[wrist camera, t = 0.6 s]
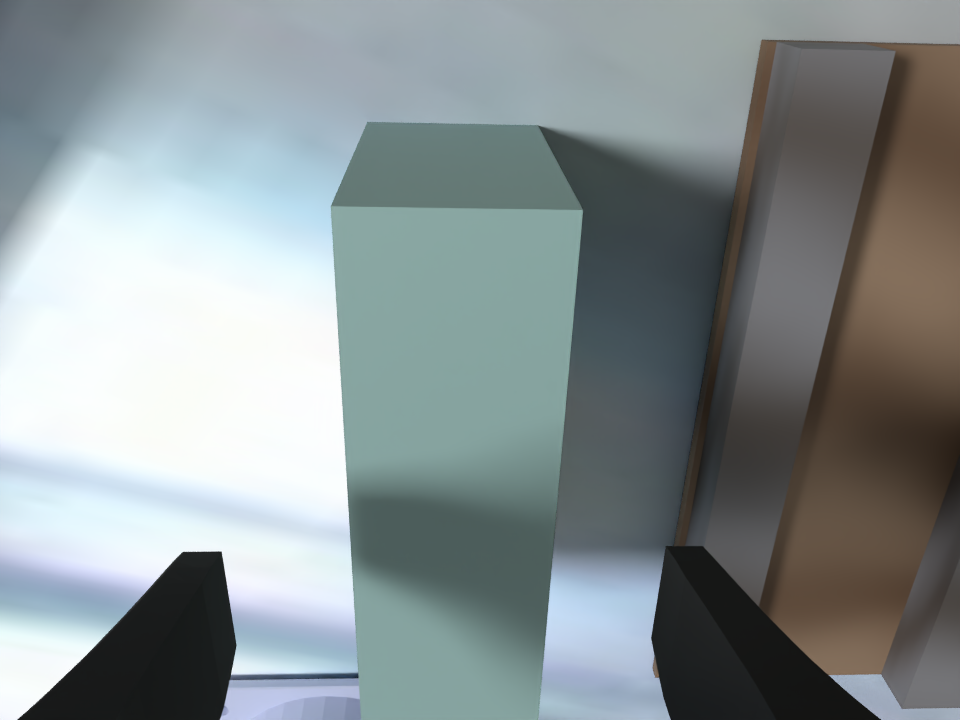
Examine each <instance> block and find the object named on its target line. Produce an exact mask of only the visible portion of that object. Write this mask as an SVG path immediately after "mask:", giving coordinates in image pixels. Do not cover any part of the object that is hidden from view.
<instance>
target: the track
mask: <svg viewBox="0 0 960 720" xmlns="http://www.w3.org/2000/svg"><path fill="white" fill-rule="evenodd" d="M674 546H703V547H704V548H705V549H706V550H707V551H708V552H709V553H710V554H711V555H712V556H713V557H714V558H715V560H716V561H717V562H718V563H719V564H720V565H721V566H722V567H723V568H724V569H725V570H726V572H727V573H728V574H729V575H730V576H731V577H732V578H733V579H734V580H735V581H736V583H737V584H738V585H739V586H740V587H741V588H742V589H743V590H744V591H745V592H746V593H747V594H748V596H749V597H750V598H751V599H752V600H753V601H754V602H755V603H756V604H757V605H758V606H759V607H760V608H761V609H762V611H763V612H764V613H765V614H766V615H767V616H768V617H769V618H770V619H771V620H772V621H773V622H774V623H775V624H776V625H777V626H778V627H779V628H780V629H781V630H782V631H783V632H784V633H785V634H786V635H787V636H788V637H789V638H790V639H791V640H792V641H793V642H794V643H795V644H796V645H797V646H798V647H799V648H800V649H801V650H802V651H803V652H804V653H805V654H806V655H807V656H808V657H809V658H810V659H811V660H812V661H813V662H814V663H816V664H817V665H818V666H819V667H820V668H821V669H822V670H823V671H824V672H825V673H827V674H828V675H856V674H881V675H882V677H883V678H884V680H885V682H886V683H887V685H888V687H889V688H890V690H891V691H892V693H893V695H894V696H895V698H896V700H897V701H898V703H899V705H900V706H901V708H902V709H914V708H960V45H959V44H917V43H875V42H834V41H792V40H762V41H761V47H760V53H759V58H758V64H757V70H756V76H755V81H754V87H753V93H752V99H751V104H750V110H749V116H748V122H747V127H746V133H745V139H744V145H743V150H742V156H741V162H740V168H739V173H738V179H737V185H736V191H735V196H734V202H733V208H732V214H731V219H730V225H729V231H728V237H727V242H726V248H725V254H724V260H723V265H722V271H721V277H720V283H719V288H718V294H717V300H716V306H715V311H714V317H713V323H712V329H711V334H710V340H709V346H708V352H707V358H706V363H705V369H704V375H703V381H702V386H701V392H700V398H699V404H698V409H697V415H696V421H695V427H694V432H693V438H692V444H691V450H690V455H689V461H688V467H687V473H686V478H685V484H684V490H683V496H682V501H681V507H680V513H679V519H678V524H677V530H676V536H675V542H674ZM653 671H654V675H655V678H659V674H658V669H657V664H656V659H655V657H654V663H653Z"/></svg>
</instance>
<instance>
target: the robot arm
mask: <svg viewBox="0 0 960 720" xmlns="http://www.w3.org/2000/svg"><path fill="white" fill-rule="evenodd" d="M651 639H652V644H653V649H654V654H655V659H656V664H657V669H658V674H659V679H660V683H661V688H662V692H663V697H664V700H665V703H666V706H667V710H668V713H669V716H670V719H671V720H881V719H879V718H878V717H877V716H876V715H874V714H873V713H872V712H871V711H869V710H868V709H867V708H866V707H864V706H863V705H862V704H861V703H860V702H858V701H857V700H856V699H855V698H854V697H852V696H851V695H850V694H849V693H848V692H847V691H845V690H844V689H843V688H842V687H841V686H840V685H839V684H838V683H836V682H835V681H834V680H833V679H832V678H831V677H830V676H829V675H828V674H827V673H825V672H824V671H823V670H822V669H821V668H820V667H819V666H818V665H817V664H816V663H814V662H813V661H812V660H811V659H810V658H809V657H808V656H807V655H806V654H805V653H804V652H803V651H802V650H801V649H800V648H799V647H798V646H797V645H796V644H795V643H794V642H793V641H792V640H791V639H790V638H789V637H788V636H787V635H786V634H785V633H784V632H783V631H782V630H781V629H780V628H779V627H778V626H777V625H776V624H775V623H774V622H773V621H772V620H771V619H770V618H769V617H768V616H767V615H766V614H765V613H764V612H763V611H762V609H761V608H760V607H759V606H758V605H757V604H756V603H755V602H754V601H753V600H752V599H751V598H750V597H749V596H748V594H747V593H746V592H745V591H744V590H743V589H742V588H741V587H740V586H739V585H738V584H737V583H736V581H735V580H734V579H733V578H732V577H731V576H730V575H729V574H728V573H727V572H726V570H725V569H724V568H723V567H722V566H721V565H720V564H719V563H718V562H717V561H716V560H715V558H714V557H713V556H712V555H711V554H710V553H709V552H708V551H707V550H706V549H705V548H704V547H703V546H666V550H665V556H664V562H663V568H662V574H661V581H660V587H659V593H658V599H657V606H656V612H655V618H654V624H653V631H652V637H651ZM235 650H236V639H235V633H234V627H233V621H232V614H231V608H230V602H229V596H228V589H227V583H226V577H225V571H224V564H223V558H222V552H182V553H181V554H180V555H179V556H178V557H177V558H176V559H175V560H174V561H173V562H172V564H171V565H170V566H169V567H168V568H167V569H166V570H165V571H164V572H163V574H162V575H161V576H160V577H159V578H158V579H157V580H156V581H155V582H154V584H153V585H152V586H151V587H150V588H149V589H148V590H147V591H146V592H145V594H144V595H143V596H142V597H141V598H140V599H139V600H138V601H137V602H136V603H135V605H134V606H133V607H132V608H131V609H130V610H129V611H128V612H127V613H126V614H125V615H124V617H123V618H122V619H121V620H120V621H119V622H118V623H117V624H116V625H115V626H114V627H113V628H112V629H111V630H110V631H109V632H108V633H107V634H106V635H105V636H104V637H103V639H102V640H101V641H100V642H99V643H98V644H97V645H96V646H95V647H94V648H93V649H92V650H91V651H90V652H89V653H88V654H87V655H86V656H85V657H84V658H83V659H82V660H81V661H80V662H79V663H78V664H77V665H76V666H75V667H74V668H73V669H72V670H71V671H70V672H68V673H67V674H66V675H65V676H64V677H63V678H62V679H61V680H60V681H59V682H58V683H57V684H56V685H55V686H54V687H53V688H52V689H51V690H50V691H49V692H48V693H47V694H45V695H44V696H43V697H42V698H41V699H40V700H39V701H38V702H37V703H36V704H35V705H33V706H32V707H31V708H30V709H29V710H28V711H27V712H26V713H24V714H23V715H22V716H21V717H20V718H19V719H18V720H361V710H360V693H359V678H345V679H279V680H230V676H231V671H232V666H233V661H234V656H235Z"/></svg>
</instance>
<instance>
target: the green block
mask: <svg viewBox="0 0 960 720" xmlns="http://www.w3.org/2000/svg"><path fill="white" fill-rule="evenodd" d="M582 216H583V209H582V207H581V205H580V203H579V202H578V200H577V198H576V196H575V194H574V192H573V190H572V189H571V187H570V185H569V183H568V181H567V179H566V177H565V175H564V174H563V172H562V170H561V168H560V166H559V164H558V162H557V160H556V159H555V157H554V155H553V153H552V151H551V149H550V147H549V146H548V144H547V142H546V140H545V138H544V136H543V134H542V132H541V131H540V129H539V127H538V125H489V124H439V123H389V122H367V124H366V127H365V129H364V131H363V134H362V136H361V138H360V140H359V143H358V145H357V147H356V150H355V152H354V154H353V157H352V159H351V161H350V163H349V166H348V168H347V170H346V173H345V175H344V177H343V180H342V182H341V184H340V186H339V189H338V191H337V193H336V196H335V198H334V200H333V203H332V205H331V218H332V235H333V252H334V269H335V286H336V303H337V320H338V337H339V353H340V370H341V387H342V404H343V421H344V438H345V455H346V472H347V489H348V506H349V523H350V540H351V557H352V574H353V591H354V608H355V625H356V642H357V659H358V676H359V693H360V710H361V720H538V716H539V704H540V693H541V682H542V670H543V659H544V648H545V636H546V625H547V613H548V602H549V591H550V579H551V568H552V557H553V545H554V534H555V523H556V511H557V500H558V489H559V477H560V466H561V455H562V443H563V432H564V421H565V409H566V398H567V387H568V375H569V364H570V353H571V341H572V330H573V318H574V307H575V296H576V284H577V273H578V262H579V250H580V239H581V228H582Z"/></svg>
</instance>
